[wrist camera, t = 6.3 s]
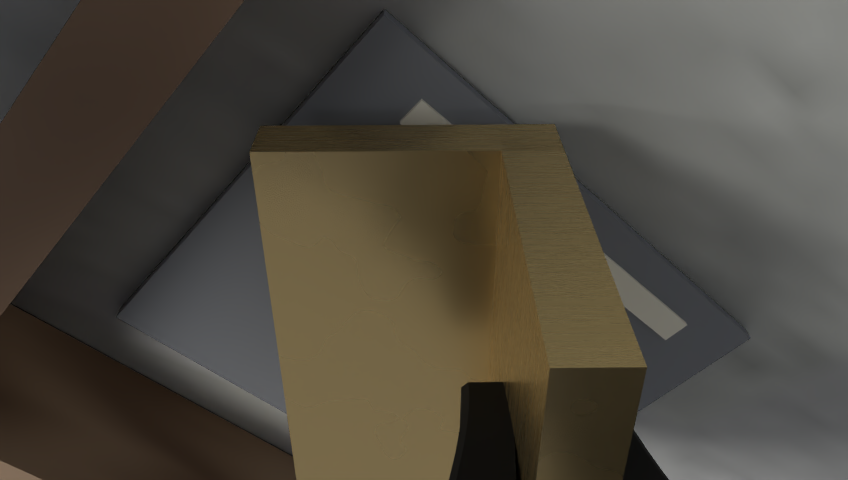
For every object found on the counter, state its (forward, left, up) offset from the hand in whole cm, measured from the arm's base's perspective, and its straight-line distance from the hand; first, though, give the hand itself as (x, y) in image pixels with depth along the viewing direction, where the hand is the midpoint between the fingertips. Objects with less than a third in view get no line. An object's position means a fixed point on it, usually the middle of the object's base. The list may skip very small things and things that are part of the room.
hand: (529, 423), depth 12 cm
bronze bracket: (-2, -1, -3) cm, 4 cm away
